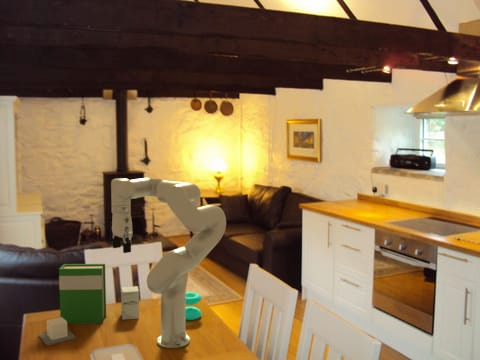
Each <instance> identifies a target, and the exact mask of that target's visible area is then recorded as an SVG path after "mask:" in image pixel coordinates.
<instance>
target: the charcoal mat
mask: <svg viewBox="0 0 480 360" xmlns="http://www.w3.org/2000/svg"><path fill="white" fill-rule="evenodd" d="M38 337H39V338H40V339H41V340H42V341H43V343H44V344H45V345H46V346H47V347H50V346H54V345H57V344H61V343H65V342H68V341H73V340H76V338H77V337H76V335H75V334H73V333H72V332H71V331H70V329H68V328H67V337H63V338H59V339H55V340H51V339H50V337H49V336H48V335H47V332H43V333H39V334H38Z"/></svg>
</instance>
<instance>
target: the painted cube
mask: <svg viewBox="0 0 480 360" xmlns="http://www.w3.org/2000/svg"><path fill="white" fill-rule="evenodd" d="M67 329H68V324H67V321H66V320H65V319H63V318H62V317H60V316H59V317H57V318H51V319H48V320H46V333H47V335H48V336H49V337H50V339H51V340H55V339H59V338H63V337H67Z"/></svg>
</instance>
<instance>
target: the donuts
mask: <svg viewBox="0 0 480 360" xmlns="http://www.w3.org/2000/svg"><path fill="white" fill-rule="evenodd" d="M201 301H202V295H201V294H200V293H198V292H195V291H194V292H193V291H191V292H190V291H186V303H185V309H186V321H195V320H197V319H199V318H200V317H201V316H202V310H201V309H200V308H198V307H195V306H194V305H197V304H199V303H200V302H201Z"/></svg>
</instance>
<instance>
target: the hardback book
mask: <svg viewBox="0 0 480 360" xmlns="http://www.w3.org/2000/svg"><path fill="white" fill-rule="evenodd" d="M58 275H59V276H58V282H59V286H58V287H59V311H60V314H59V315H60V316H59V318H60V317H62V318H63V319H65V320H66V321H67V325H81V324H82V325H83V324H86V325H88V324H89V325H90V324H92V325H93V324H103V323H104V319H105V318H107V294H106V293H107V291H106V290H107V289H106V263H64V264H63V265H61V266H60V267H59V268H58Z"/></svg>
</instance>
